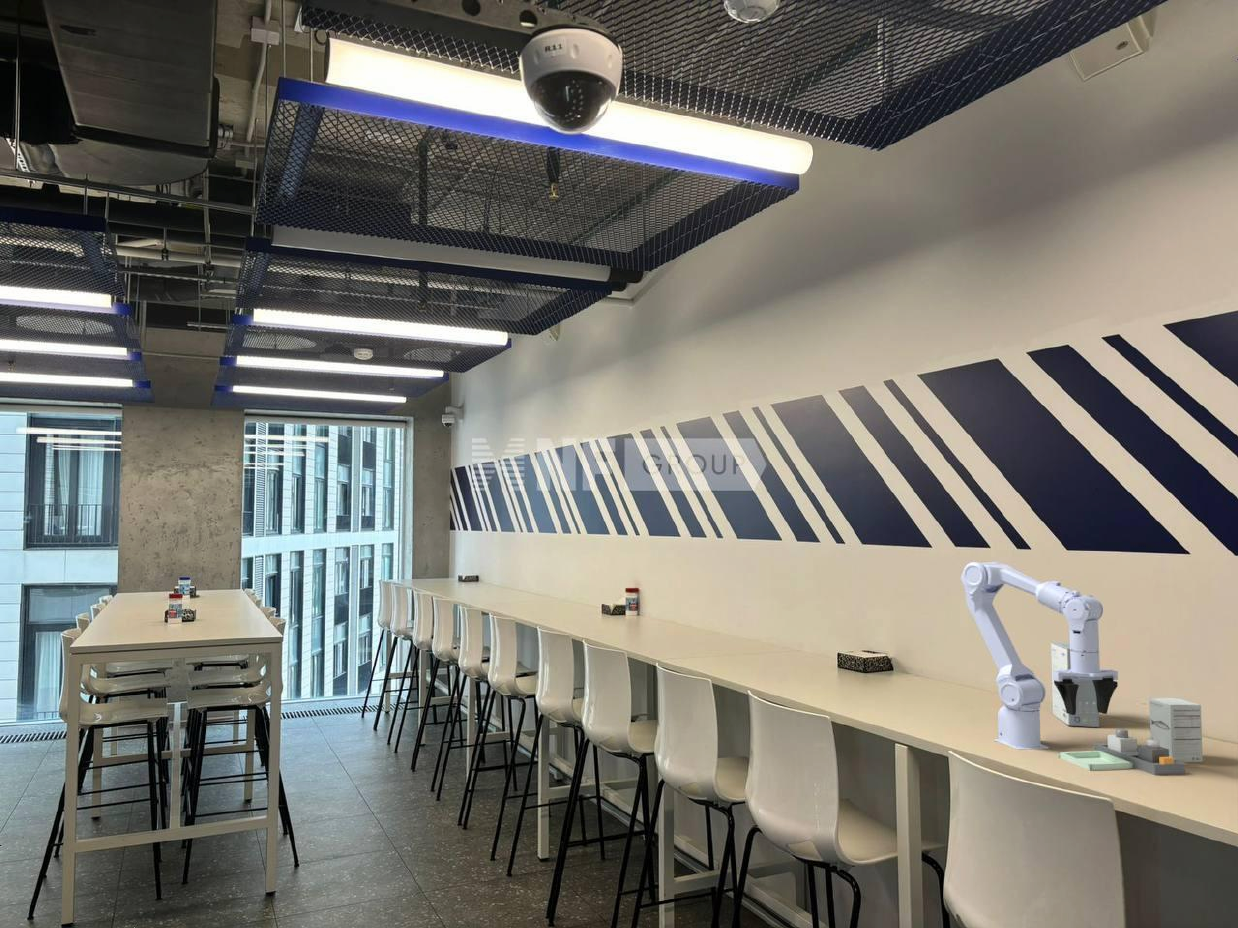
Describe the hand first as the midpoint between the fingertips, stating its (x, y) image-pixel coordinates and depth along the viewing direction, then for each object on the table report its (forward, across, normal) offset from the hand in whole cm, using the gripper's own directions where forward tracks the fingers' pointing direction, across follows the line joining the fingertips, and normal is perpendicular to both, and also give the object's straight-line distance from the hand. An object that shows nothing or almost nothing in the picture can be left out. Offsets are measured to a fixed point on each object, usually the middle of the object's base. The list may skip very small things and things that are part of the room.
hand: (1086, 713), depth 194 cm
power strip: (+10, +9, -4) cm, 14 cm away
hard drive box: (+10, +24, +38) cm, 46 cm away
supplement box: (+11, +22, 0) cm, 24 cm away
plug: (+10, +9, -8) cm, 16 cm away
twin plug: (+10, +9, +1) cm, 14 cm away
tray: (+10, -1, -3) cm, 11 cm away
